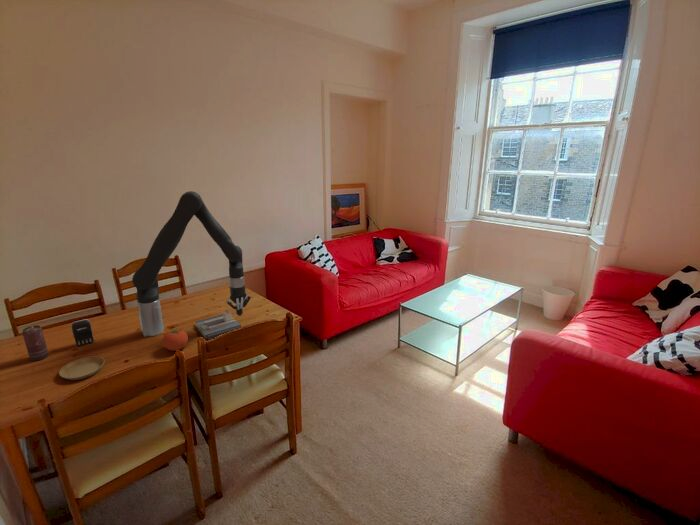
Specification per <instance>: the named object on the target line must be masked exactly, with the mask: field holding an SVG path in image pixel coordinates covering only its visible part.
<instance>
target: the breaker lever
mask: <svg viewBox="0 0 700 525" xmlns="http://www.w3.org/2000/svg"><path fill="white" fill-rule="evenodd" d="M222 314H223V320H224V321H225V322H228V321H231V320H232V317H233V315H232V312H231V311H230V310H229V309H225V310H223V311H222Z"/></svg>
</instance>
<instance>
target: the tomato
mask: <svg viewBox="0 0 700 525" xmlns="http://www.w3.org/2000/svg"><path fill="white" fill-rule="evenodd" d="M188 340H189V337H188V333H187V332H186V331H185V330H182V329H178V328H173V329H170V330H169V331H166V333H165V334H164V336H163V338H162V344H163V346H164V347H165V349H167V350H169V351H175V352H176V351H179V350H181V349H183V348H184V347H185V346H186V345H187V344H188ZM178 349H179V350H178Z"/></svg>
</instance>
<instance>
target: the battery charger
mask: <svg viewBox="0 0 700 525" xmlns="http://www.w3.org/2000/svg"><path fill="white" fill-rule="evenodd" d="M71 330H72V331H71V332H72V336H73V338H74V341H75V346H77V347H81V346H86V345H90V344H92V343H94V341H95V339H94V335H93V329H92V324H91V321H90V320H89V319H87V318H84V319H81V320H76V321H73V322H72V323H71Z"/></svg>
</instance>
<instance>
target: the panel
mask: <svg viewBox="0 0 700 525" xmlns="http://www.w3.org/2000/svg"><path fill="white" fill-rule="evenodd" d="M194 324H195V328H196V327H197V328H198V329H197V328H196V329H197V330H198V332H199V331H200V332H201V333H200V332H199V333H200V334H201V335H203V336H204V337H203V336H202V337H203V338H204V339H205V338H206V339H207V335H209V334H213V333H216V332H220V331H223V330H227V329H230V328H234V327H237V326H240V327H241V328H242V324H241V323H240V322H239V321H238V320H237V319H236V318H235V317H234V316H232V320H231V321H228V322H225V321H224V320H223V316H221V317H217V318H213V319H209V320H205V321H202V322H198V323H196V322H195V323H194Z"/></svg>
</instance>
